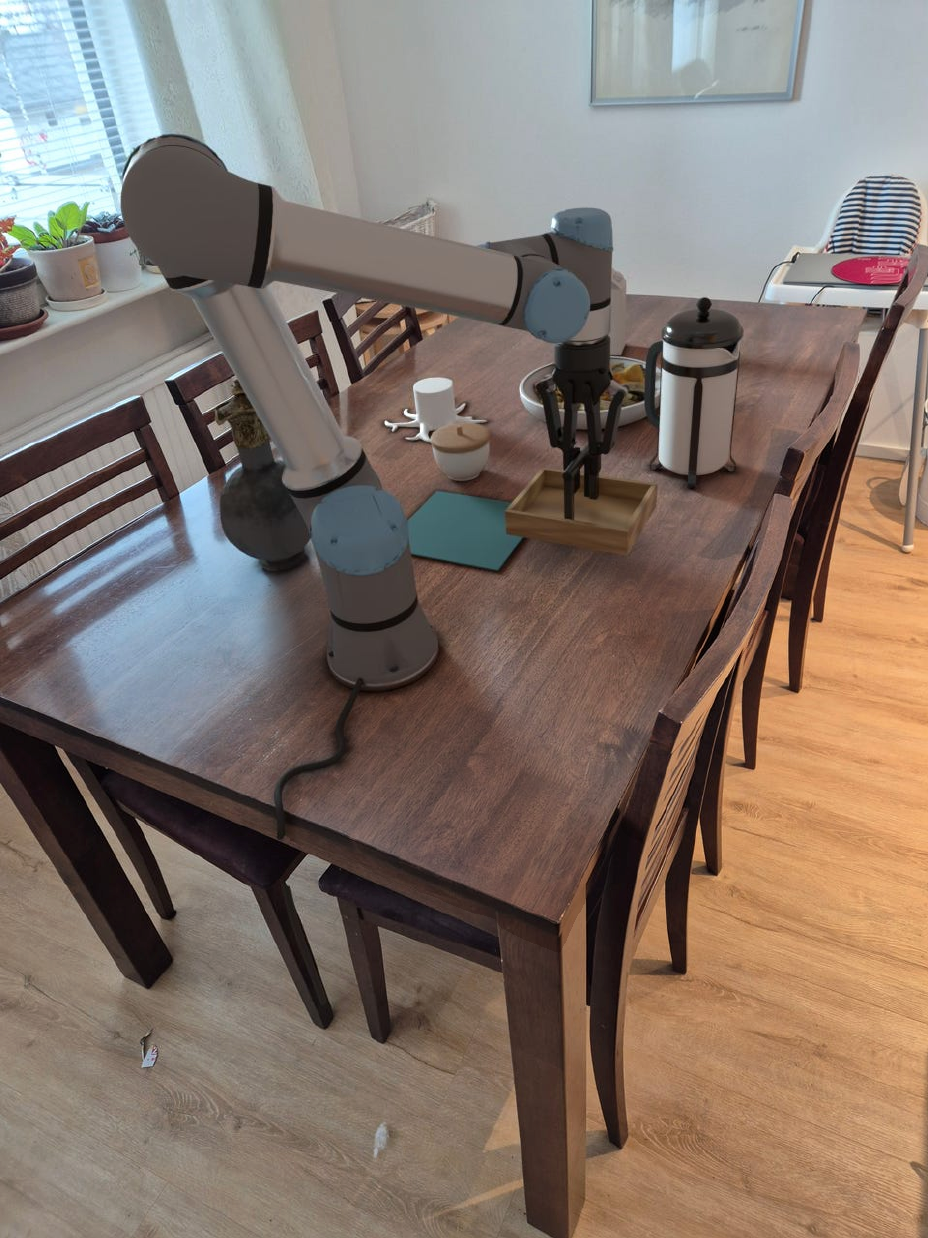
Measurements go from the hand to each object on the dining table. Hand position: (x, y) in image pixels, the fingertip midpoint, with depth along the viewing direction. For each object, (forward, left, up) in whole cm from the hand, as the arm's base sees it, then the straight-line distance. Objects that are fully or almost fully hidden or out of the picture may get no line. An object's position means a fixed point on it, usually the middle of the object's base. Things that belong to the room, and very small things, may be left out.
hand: (582, 491), depth 129 cm
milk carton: (+84, +24, -11) cm, 88 cm away
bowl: (+53, +17, -11) cm, 57 cm away
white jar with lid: (+18, +30, -11) cm, 36 cm away
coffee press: (+31, -8, -11) cm, 34 cm away
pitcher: (-16, +46, -11) cm, 50 cm away
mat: (0, +21, -10) cm, 23 cm away
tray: (0, 0, -5) cm, 5 cm away
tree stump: (+37, +46, -11) cm, 60 cm away
